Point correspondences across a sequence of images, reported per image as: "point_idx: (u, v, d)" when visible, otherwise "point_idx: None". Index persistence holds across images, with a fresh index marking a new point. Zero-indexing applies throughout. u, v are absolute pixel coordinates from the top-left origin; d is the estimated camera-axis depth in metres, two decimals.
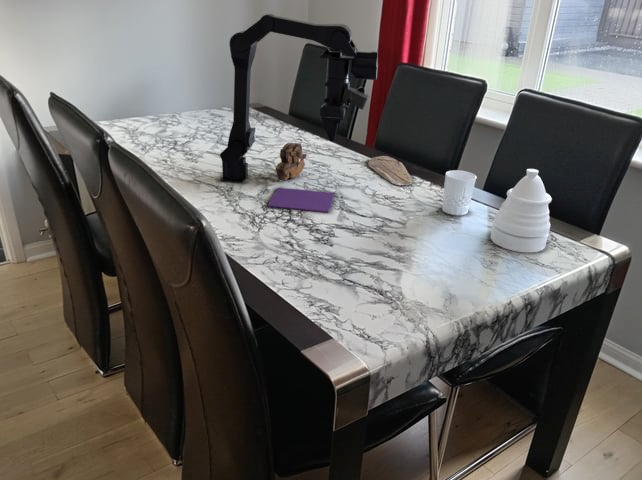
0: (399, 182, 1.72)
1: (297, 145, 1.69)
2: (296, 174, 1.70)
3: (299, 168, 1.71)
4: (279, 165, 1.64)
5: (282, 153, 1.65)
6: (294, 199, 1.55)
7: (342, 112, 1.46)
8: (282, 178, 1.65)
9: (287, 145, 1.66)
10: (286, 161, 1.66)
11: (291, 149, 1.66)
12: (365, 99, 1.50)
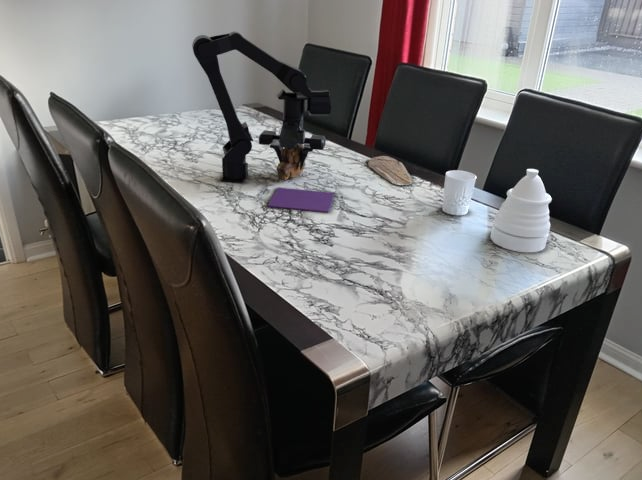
0: (399, 182, 1.72)
1: (299, 145, 1.69)
2: (296, 174, 1.70)
3: (299, 168, 1.71)
4: (280, 165, 1.64)
5: (283, 153, 1.64)
6: (294, 199, 1.55)
7: (259, 139, 1.65)
8: (282, 178, 1.65)
9: None
10: (287, 161, 1.65)
11: (293, 149, 1.66)
12: (279, 137, 1.58)
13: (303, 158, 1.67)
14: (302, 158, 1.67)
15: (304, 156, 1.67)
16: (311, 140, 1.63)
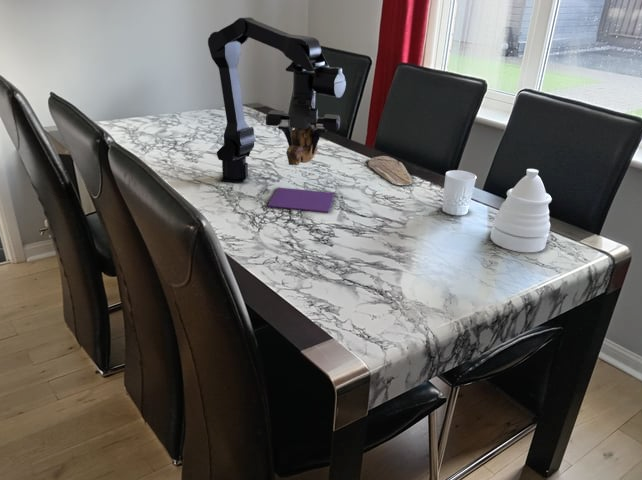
0: (399, 182, 1.72)
1: (310, 126, 1.51)
2: (308, 159, 1.52)
3: (311, 152, 1.53)
4: (290, 148, 1.46)
5: (294, 135, 1.46)
6: (294, 199, 1.55)
7: (266, 119, 1.46)
8: (293, 163, 1.47)
9: None
10: (298, 144, 1.47)
11: (304, 130, 1.48)
12: (289, 116, 1.40)
13: (316, 140, 1.49)
14: (314, 140, 1.49)
15: (317, 138, 1.49)
16: (325, 120, 1.45)
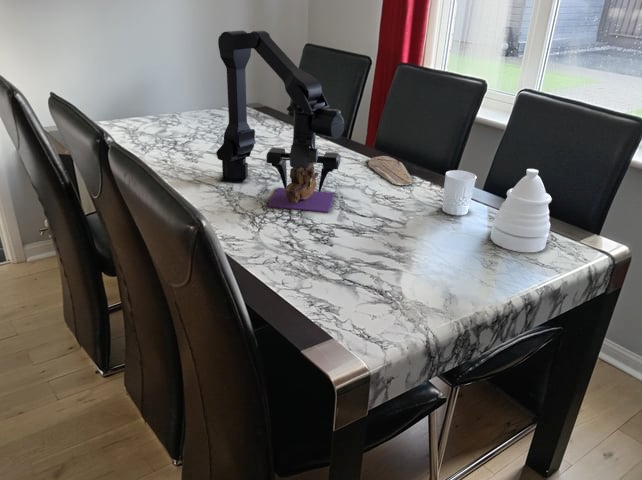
0: (399, 182, 1.72)
1: (309, 163, 1.53)
2: (307, 195, 1.54)
3: (311, 188, 1.55)
4: (289, 186, 1.48)
5: (292, 173, 1.48)
6: None
7: (267, 157, 1.48)
8: (292, 200, 1.49)
9: None
10: (297, 181, 1.49)
11: (302, 168, 1.50)
12: (289, 156, 1.42)
13: (322, 179, 1.51)
14: (321, 179, 1.51)
15: (323, 176, 1.50)
16: (324, 159, 1.47)
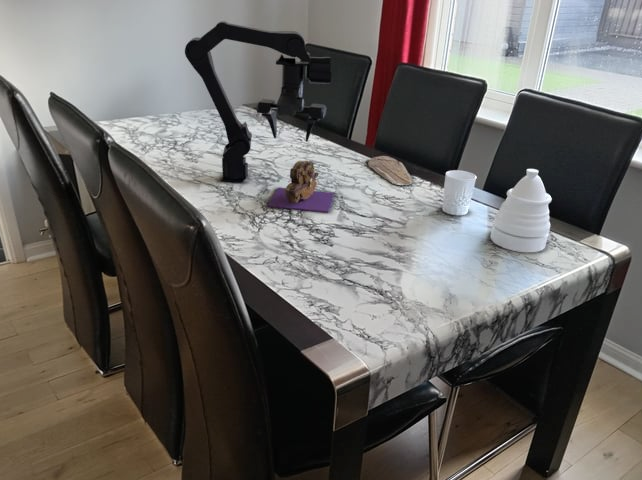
0: (399, 182, 1.72)
1: (309, 163, 1.53)
2: (307, 195, 1.54)
3: (311, 188, 1.55)
4: (289, 186, 1.48)
5: (292, 173, 1.48)
6: None
7: (257, 107, 1.58)
8: (292, 200, 1.49)
9: (298, 164, 1.50)
10: (297, 181, 1.49)
11: (302, 168, 1.50)
12: (277, 104, 1.52)
13: (309, 128, 1.60)
14: (308, 128, 1.60)
15: (310, 126, 1.60)
16: (311, 108, 1.56)
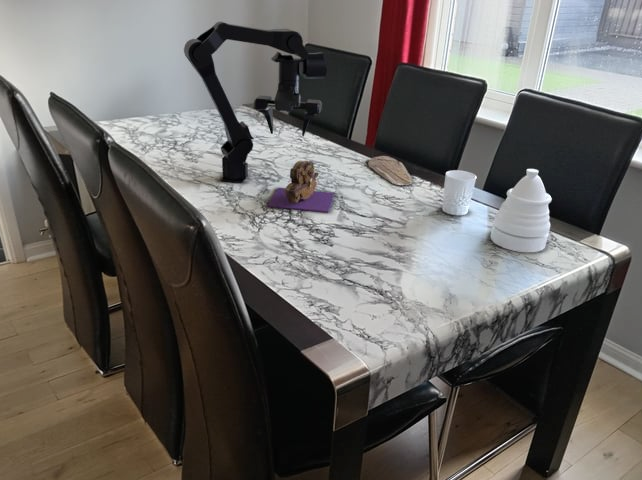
0: (399, 182, 1.72)
1: (309, 163, 1.53)
2: (307, 195, 1.54)
3: (311, 188, 1.55)
4: (289, 186, 1.48)
5: (292, 173, 1.48)
6: None
7: (254, 103, 1.62)
8: (292, 200, 1.49)
9: (298, 164, 1.50)
10: (297, 181, 1.49)
11: (302, 168, 1.50)
12: (274, 100, 1.56)
13: (305, 124, 1.64)
14: (304, 124, 1.64)
15: (306, 122, 1.64)
16: (307, 104, 1.60)
